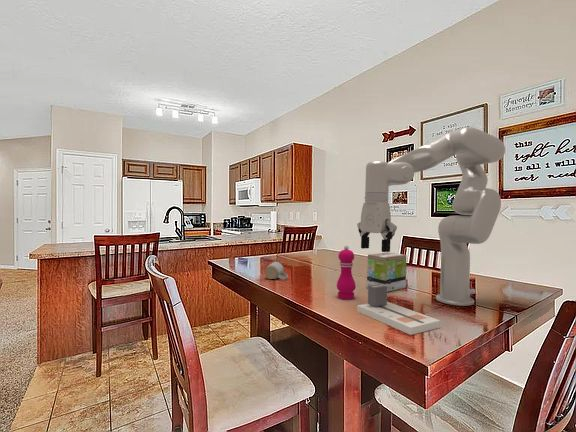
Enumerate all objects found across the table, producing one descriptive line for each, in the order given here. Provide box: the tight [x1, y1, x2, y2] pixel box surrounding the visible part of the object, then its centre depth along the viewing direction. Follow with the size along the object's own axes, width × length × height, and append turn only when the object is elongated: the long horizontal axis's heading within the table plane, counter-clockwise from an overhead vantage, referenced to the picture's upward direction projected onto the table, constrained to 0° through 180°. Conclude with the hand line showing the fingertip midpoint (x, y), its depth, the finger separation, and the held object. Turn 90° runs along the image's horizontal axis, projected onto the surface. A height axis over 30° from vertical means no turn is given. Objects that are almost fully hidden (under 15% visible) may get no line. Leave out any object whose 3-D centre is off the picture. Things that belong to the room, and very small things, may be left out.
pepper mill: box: [336, 245, 356, 301], centre depth 120 cm, size 7×7×20 cm
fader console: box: [356, 301, 441, 336], centre depth 97 cm, size 12×22×2 cm, turn 27°
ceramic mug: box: [264, 261, 289, 281], centre depth 152 cm, size 11×8×8 cm
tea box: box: [366, 252, 407, 293], centre depth 135 cm, size 15×10×15 cm
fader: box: [367, 284, 388, 307], centre depth 104 cm, size 5×4×6 cm
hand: (374, 250), depth 105 cm, fingers open, 9 cm apart
